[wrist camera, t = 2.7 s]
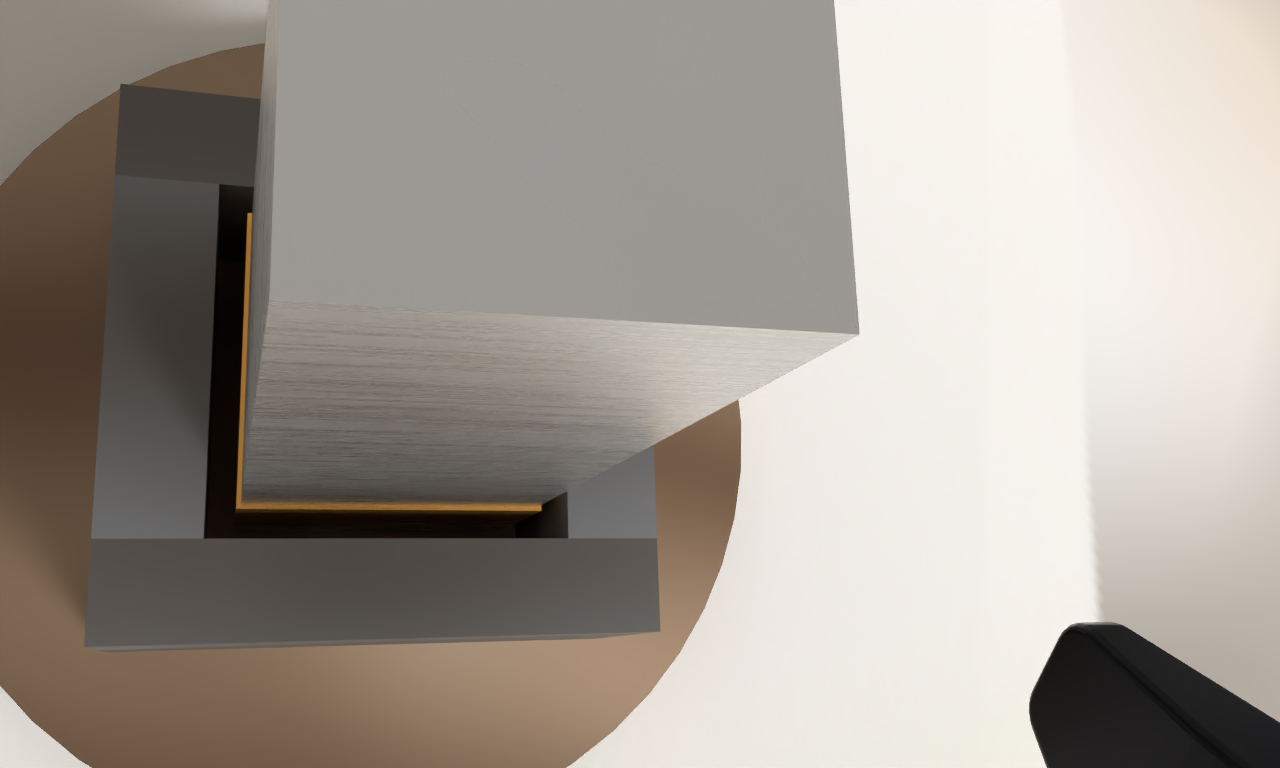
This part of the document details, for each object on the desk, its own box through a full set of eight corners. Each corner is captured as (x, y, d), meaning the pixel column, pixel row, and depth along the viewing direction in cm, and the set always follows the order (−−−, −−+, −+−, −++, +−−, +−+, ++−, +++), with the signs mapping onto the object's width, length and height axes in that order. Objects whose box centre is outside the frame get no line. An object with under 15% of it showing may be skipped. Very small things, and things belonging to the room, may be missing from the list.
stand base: (735, 801, 20) (855, 829, 16) (-118, 864, 16) (-218, 920, 12) (702, 111, 22) (797, -1, 19) (-36, 24, 19) (-98, -139, 15)
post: (495, 534, 18) (867, 341, 8) (232, 534, 17) (259, 306, 7) (493, 295, 19) (827, -166, 9) (243, 280, 18) (280, -277, 7)
